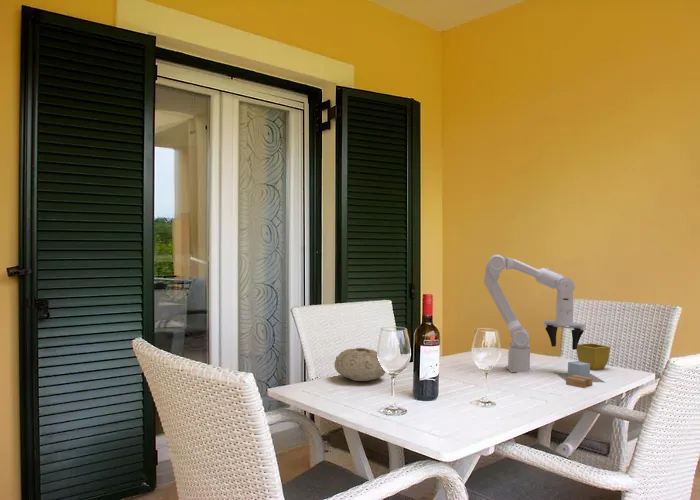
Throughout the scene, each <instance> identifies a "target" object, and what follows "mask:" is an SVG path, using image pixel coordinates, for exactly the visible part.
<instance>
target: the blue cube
mask: <svg viewBox="0 0 700 500" xmlns="http://www.w3.org/2000/svg"><path fill="white" fill-rule="evenodd" d="M590 372H591V369H590V364H588V363H584V362H580V361H579V360H575V361H568V362H567V373H568V377H569V376H572V375H578V376H583V377H589V378H590V374H591V373H590Z"/></svg>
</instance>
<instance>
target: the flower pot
mask: <svg viewBox="0 0 700 500" xmlns="http://www.w3.org/2000/svg"><path fill="white" fill-rule="evenodd" d="M610 351H611V346H608V345H602V344H597V343H592V342H591V343H589V342H588V343H580V344H579V343H578V345H577V349H576V355H577V359H578V360H577V361H580V362H584V363H588V364H590V370H591V371H596V370H597V371H598V370H604V368H605V367H606V366H607V364H608V362H609V359H610V358H609V357H610Z"/></svg>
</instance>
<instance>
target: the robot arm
mask: <svg viewBox="0 0 700 500" xmlns="http://www.w3.org/2000/svg"><path fill="white" fill-rule="evenodd" d="M504 269H506V270H516V271H519V272H521V273H523V274H526V275H529V276H530V277H534V278H535V281H536V282H537V283H538V284H541V285H542V286H546V287H548V288H551V289H553V290H554V289H556V292H557V293H556V297H555V298H556V300H555V303H556V304H555V305H556V307H555V308H556V309H555V310H556V311H555V320H550V319H549V320H548V319H546V320H543V326H545V331H546V333H547V335H548V337H549V341H550V345H551V347H557V335H558V334H557V331H558V328H563V329H564V328H565V329H570V330H571V337H572V340H571V341H572V345H571V347H572V350H574V351H575V350H577V345H578V344H579V341H580V339H581V337H582V335H583V333H584V331H586V329H587V328H586V324H585V323H578V322H574V291H575V288H576V286H575V283H574V281H573V280H572V279H571V278H570V277H567V276H564V274H562V273H557V272H555V271H553V270H551V268H549V267H546V268H545V267H541V268H539V269H538V268H535V267H533V266H532V265H528V264H527V263H524V262H522V261H519V260H517V259H515V258H511V257H508V256H504V257H503V256H502V255H501V254H494V255H491V256H490V257H489V258H488V260H487V262H486V264H485V272H484V278H483V282H484V285H485V287H486V289H487V291H488V293H489V295H490V297H491V298H492V300H493V302H494V304H495V306H496V308H497V309H498V311H499V313H500V315H501V317H502V318H503V321H504V323H505V324H506V327H507V328H508V331H509V332H510V338H511V343H509V348H508V351H507V354H508V355H507V356H508V357H507V365H505V368H506V369H507V370H508V371H509V372H511V373H534V371H533V370H532V369H530V368H531V345H530V344H529V343H530V341H531V339H530V334H529V333H528V330H527V329H526V328H525V327H523V326H522V325H521V323H520V321H519V320H518V318H517V316H516V314H515V311H513V308H512V306H511V305H510V303H509V301H508V299H507V297H506V295H505V294H504V291H503V290H502V287H501V285H500V284H499V282H498V281H499V278H500V276H501V275H500V274H501V273H502V272H503V270H504Z"/></svg>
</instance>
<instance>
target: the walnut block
mask: <svg viewBox="0 0 700 500" xmlns="http://www.w3.org/2000/svg"><path fill="white" fill-rule="evenodd" d="M565 385H566V386H567V385H568V386H571V387H572V386H573V387H578V388H581V389H582V388H583V389H585V388H588V387H592V386H593V382H592V378H589V377H583V376H578V375H572V376H569V377H566V381H565Z"/></svg>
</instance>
